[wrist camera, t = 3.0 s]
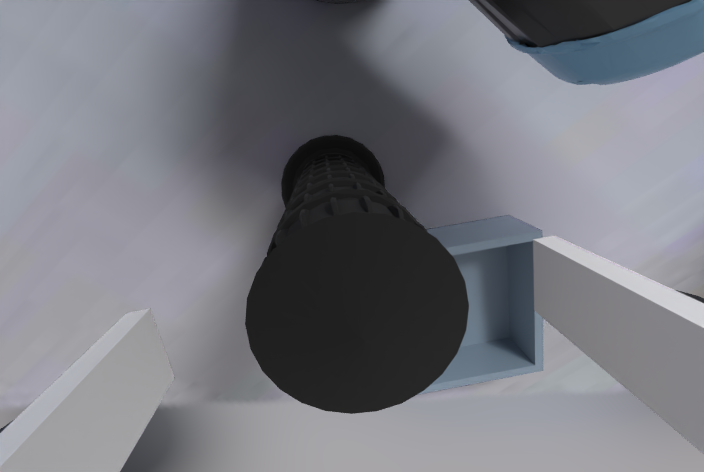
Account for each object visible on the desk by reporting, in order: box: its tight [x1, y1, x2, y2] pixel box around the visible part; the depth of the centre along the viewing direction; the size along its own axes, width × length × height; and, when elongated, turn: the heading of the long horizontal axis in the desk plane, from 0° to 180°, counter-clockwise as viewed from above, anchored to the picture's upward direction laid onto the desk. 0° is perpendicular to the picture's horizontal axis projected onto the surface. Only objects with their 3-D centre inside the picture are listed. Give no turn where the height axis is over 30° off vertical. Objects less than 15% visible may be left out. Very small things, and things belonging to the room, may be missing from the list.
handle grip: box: [245, 135, 469, 414], centre depth 23 cm, size 10×26×10 cm
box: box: [417, 215, 543, 395], centre depth 37 cm, size 15×15×6 cm
